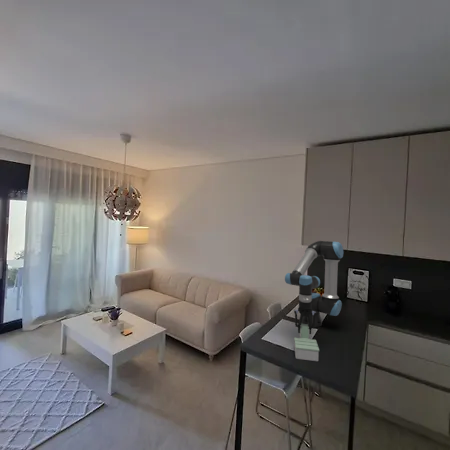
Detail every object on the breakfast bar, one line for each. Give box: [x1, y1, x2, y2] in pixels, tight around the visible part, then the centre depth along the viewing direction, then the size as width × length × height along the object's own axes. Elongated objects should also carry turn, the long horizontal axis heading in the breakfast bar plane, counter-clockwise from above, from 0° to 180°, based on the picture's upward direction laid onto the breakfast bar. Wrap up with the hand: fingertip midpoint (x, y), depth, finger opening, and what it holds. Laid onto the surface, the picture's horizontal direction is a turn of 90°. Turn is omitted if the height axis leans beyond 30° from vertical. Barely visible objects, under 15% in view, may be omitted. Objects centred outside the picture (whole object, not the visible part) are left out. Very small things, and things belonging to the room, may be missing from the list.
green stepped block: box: [293, 323, 320, 352], centre depth 150 cm, size 18×13×8 cm
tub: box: [294, 346, 319, 362], centre depth 147 cm, size 12×12×6 cm
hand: (304, 338), depth 157 cm, fingers closed on green stepped block, 4 cm apart
